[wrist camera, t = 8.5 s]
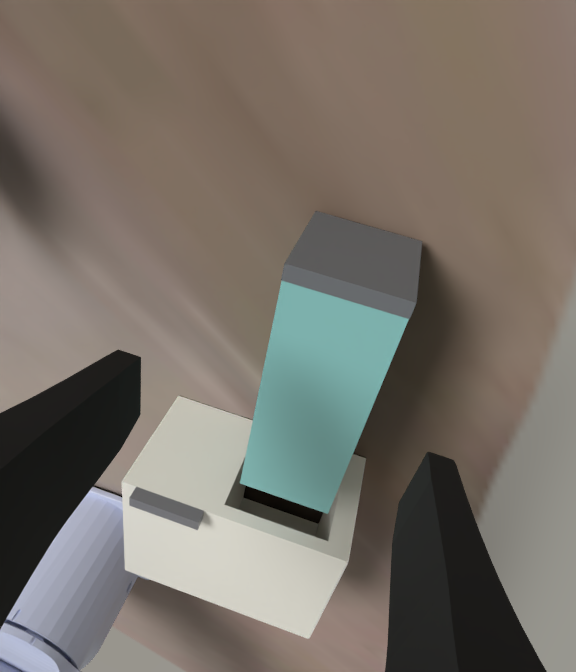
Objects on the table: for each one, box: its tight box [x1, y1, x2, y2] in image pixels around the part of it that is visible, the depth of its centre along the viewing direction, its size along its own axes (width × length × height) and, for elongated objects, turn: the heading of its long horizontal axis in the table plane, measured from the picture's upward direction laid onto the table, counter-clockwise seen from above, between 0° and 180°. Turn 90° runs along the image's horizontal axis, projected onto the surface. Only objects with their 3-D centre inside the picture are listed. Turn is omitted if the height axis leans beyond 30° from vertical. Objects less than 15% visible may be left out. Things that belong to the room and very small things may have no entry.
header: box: [122, 396, 366, 639], centre depth 26 cm, size 8×10×6 cm
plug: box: [240, 211, 422, 514], centre depth 20 cm, size 11×4×4 cm, turn 170°
